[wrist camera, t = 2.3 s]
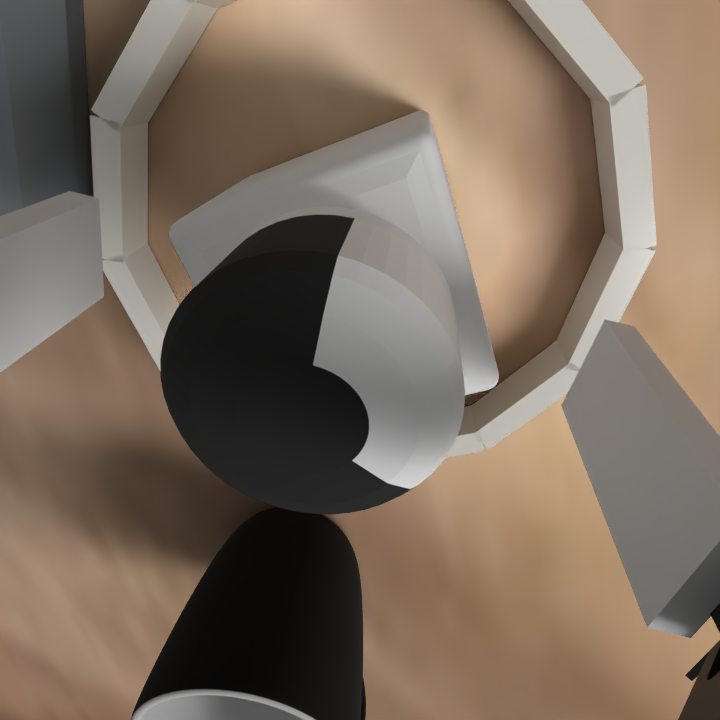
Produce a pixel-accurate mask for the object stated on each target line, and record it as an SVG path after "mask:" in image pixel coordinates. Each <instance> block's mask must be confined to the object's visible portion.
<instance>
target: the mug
mask: <svg viewBox="0 0 720 720" xmlns="http://www.w3.org/2000/svg"><path fill="white" fill-rule="evenodd" d="M365 716H366V696H365V686H364V680H363V612H362V593H361V582H360V574H359V568H358V563H357V559H356V556H355V553H354V551H353V548H352V546H351V544H350V542H349V540H348V539H347V537H346V536H345V534H344V533H343V532H342V531H341V530H340V529H339V528H338V527H337V526H336V525H335V524H334V523H332V522H331V521H329V520H328V519H326V518H324V517H323V516H321V515H318V514H311V513H303V512H296V511H291V510H287V509H283V508H275V509H270V510H266V511H263V512H261V513H259V514H256V515H255V516H253V517H251V518H250V519H248V520H247V521H246V522H244V523H243V524H242V525H241V526H240V527H239V528H238V529H237V530H236V531H235V532H234V533H233V534H232V535H231V536H230V537H229V539H228V540H227V541H226V543H225V544H224V545H223V547H222V548H221V549H220V551H219V552H218V553H217V555H216V556H215V558H214V559H213V561H212V562H211V564H210V566H209V567H208V569H207V570H206V572H205V573H204V575H203V577H202V578H201V580H200V582H199V583H198V585H197V587H196V588H195V590H194V592H193V594H192V595H191V597H190V599H189V601H188V602H187V604H186V606H185V608H184V610H183V611H182V613H181V615H180V617H179V619H178V621H177V622H176V624H175V626H174V628H173V630H172V632H171V634H170V636H169V637H168V639H167V641H166V643H165V645H164V647H163V649H162V651H161V653H160V655H159V657H158V659H157V661H156V663H155V665H154V667H153V669H152V671H151V673H150V675H149V677H148V679H147V681H146V683H145V686H144V688H143V690H142V692H141V694H140V697H139V699H138V701H137V704H136V706H135V709H134V711H133V714H132V717H131V720H365Z"/></svg>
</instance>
